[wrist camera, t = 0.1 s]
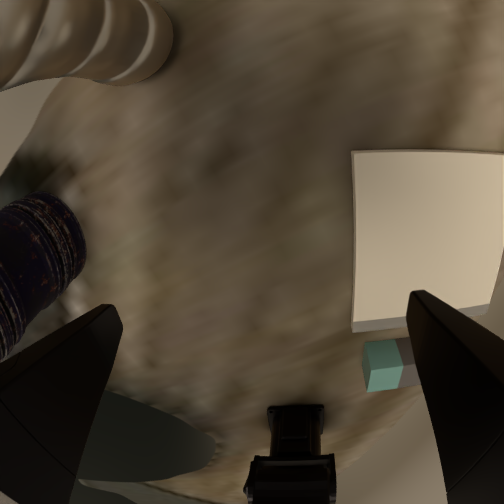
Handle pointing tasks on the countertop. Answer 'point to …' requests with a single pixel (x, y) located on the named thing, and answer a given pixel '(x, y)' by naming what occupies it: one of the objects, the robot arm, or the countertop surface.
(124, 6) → the plastic bottle
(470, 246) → the notepad
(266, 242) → the countertop surface
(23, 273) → the storage jar
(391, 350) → the marker
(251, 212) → the countertop surface
